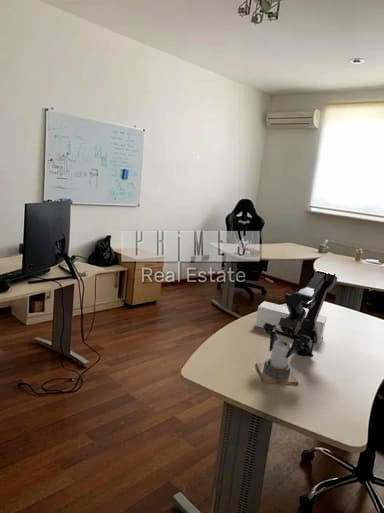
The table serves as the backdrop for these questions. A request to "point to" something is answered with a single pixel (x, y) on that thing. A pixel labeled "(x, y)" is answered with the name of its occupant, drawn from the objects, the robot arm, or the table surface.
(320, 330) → the white foam block
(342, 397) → the table surface
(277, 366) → the beverage can
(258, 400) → the table surface
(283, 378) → the can holder
